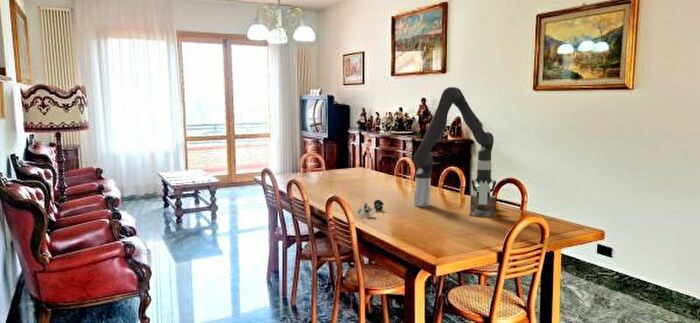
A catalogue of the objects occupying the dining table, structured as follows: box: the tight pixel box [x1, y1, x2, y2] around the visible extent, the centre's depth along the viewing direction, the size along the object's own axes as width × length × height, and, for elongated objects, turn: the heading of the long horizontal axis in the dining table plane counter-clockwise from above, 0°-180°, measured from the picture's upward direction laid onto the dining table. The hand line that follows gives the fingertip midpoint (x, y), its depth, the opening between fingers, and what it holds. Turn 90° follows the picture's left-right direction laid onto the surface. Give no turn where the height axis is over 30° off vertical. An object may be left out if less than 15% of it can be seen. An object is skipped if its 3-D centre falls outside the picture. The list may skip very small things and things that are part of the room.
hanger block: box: [478, 182, 488, 205], centre depth 265 cm, size 4×6×12 cm
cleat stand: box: [468, 194, 497, 218], centre depth 266 cm, size 14×11×10 cm
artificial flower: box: [356, 199, 384, 219], centre depth 269 cm, size 9×22×10 cm, turn 147°
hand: (483, 198), depth 266 cm, fingers closed on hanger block, 4 cm apart
